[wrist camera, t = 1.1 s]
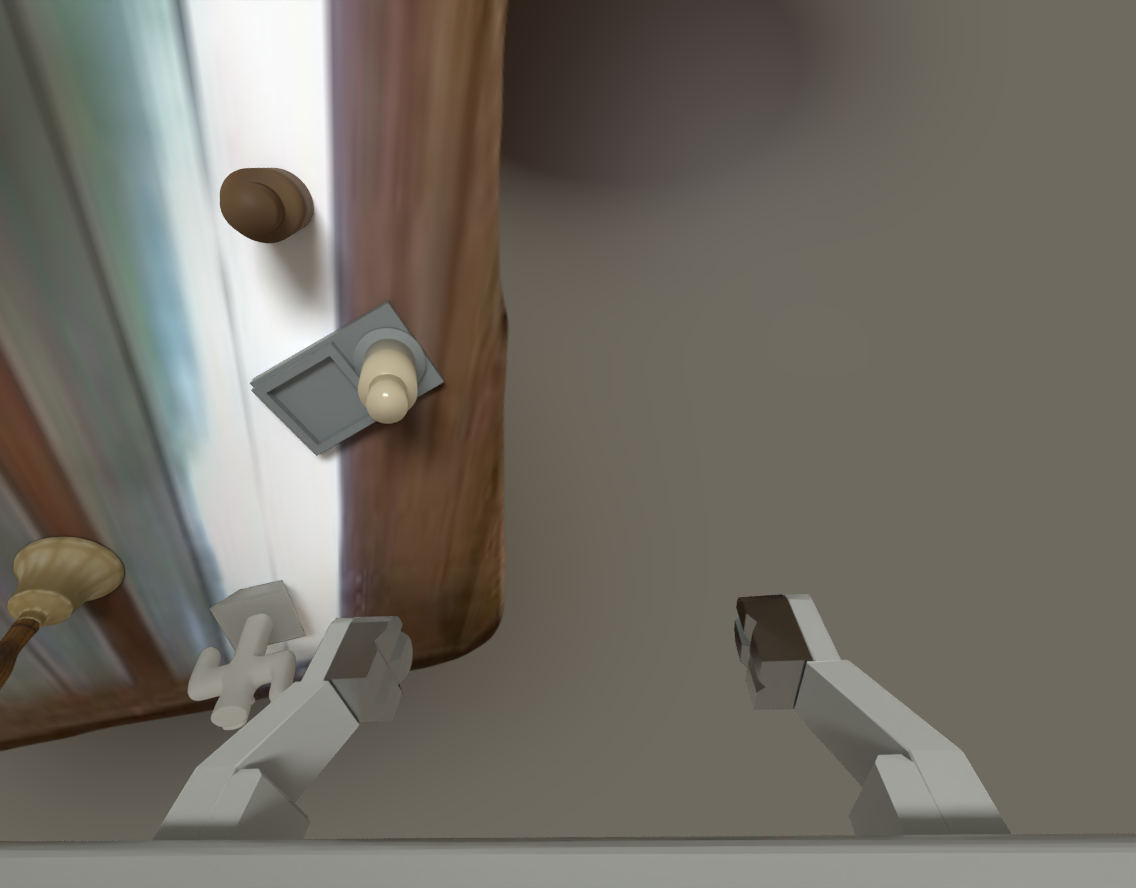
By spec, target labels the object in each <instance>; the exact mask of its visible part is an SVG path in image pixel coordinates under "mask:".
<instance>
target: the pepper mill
mask: <svg viewBox="0 0 1136 888" xmlns="http://www.w3.org/2000/svg"><path fill="white" fill-rule="evenodd" d="M220 208H221V212H222V214H223V216H224V218H225V219H226V221H227V222H228V223H229V224H230V225H231V226H232V227H233V228H234V229H236V230H237V231H238V232H240V233H241V234H243V235H244V236H246V237H248V238H250V239H252V240H254V241H258V242H262V243H276V242H279V241H282V240H284V239H286V238H287V237H289V236H291V235H292V234H294V233H295V232H297V231H299V230H300V229H302V228H303V227H305V226H306V225H307V224H308V223H309V221H310V220H311V217H312V214H313V200H312V197H311V194H310V192H309V190H308V189H307V187H306V186H305V184H304V183H303V182H302V181H301V180H300V179H299V178H298V177H296V176H295V175H294V174H292V173H290V172H288V171H286V170H283V169H279V168H245V169H240V170H237V171H234V172H233V173H231V174H230V175H229V176H228V177H227V178H226V179H225V180H224V182H223V184H222V186H221V190H220Z"/></svg>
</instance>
